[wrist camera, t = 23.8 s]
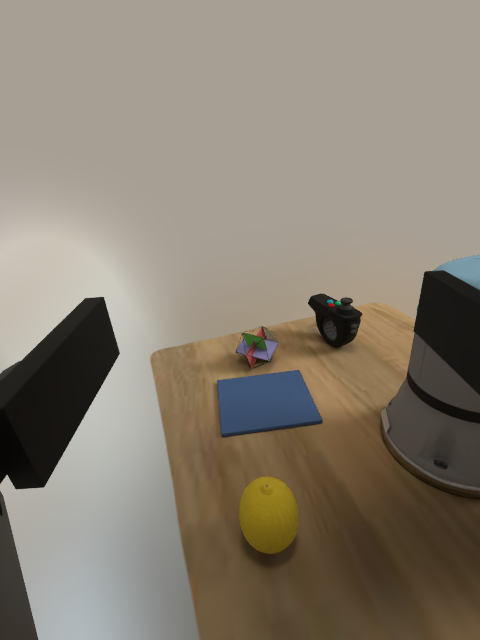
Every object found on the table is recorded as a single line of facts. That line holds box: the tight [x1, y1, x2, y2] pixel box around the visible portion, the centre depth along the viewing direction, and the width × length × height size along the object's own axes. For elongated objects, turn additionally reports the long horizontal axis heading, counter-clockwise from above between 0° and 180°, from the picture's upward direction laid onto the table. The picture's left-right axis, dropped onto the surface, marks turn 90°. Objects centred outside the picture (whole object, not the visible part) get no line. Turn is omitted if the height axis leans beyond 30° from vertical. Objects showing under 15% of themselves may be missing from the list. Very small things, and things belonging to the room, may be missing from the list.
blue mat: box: [217, 370, 322, 437], centre depth 50 cm, size 14×12×1 cm
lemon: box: [239, 477, 299, 554], centre depth 31 cm, size 6×6×8 cm
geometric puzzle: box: [236, 326, 279, 369], centre depth 58 cm, size 7×7×8 cm
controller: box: [308, 294, 362, 346], centre depth 63 cm, size 4×12×10 cm, turn 23°
